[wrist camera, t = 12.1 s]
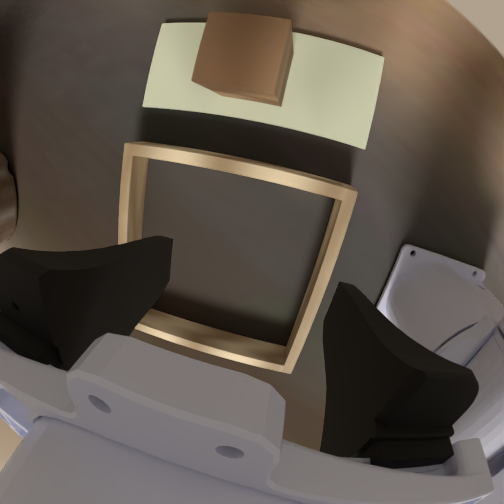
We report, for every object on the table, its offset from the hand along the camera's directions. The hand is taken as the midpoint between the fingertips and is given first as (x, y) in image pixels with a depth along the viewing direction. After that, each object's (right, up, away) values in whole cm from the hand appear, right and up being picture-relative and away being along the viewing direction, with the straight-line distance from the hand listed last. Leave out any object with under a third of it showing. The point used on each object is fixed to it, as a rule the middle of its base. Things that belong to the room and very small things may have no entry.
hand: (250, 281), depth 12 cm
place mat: (+1, +13, +5) cm, 14 cm away
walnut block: (0, +13, +4) cm, 14 cm away
